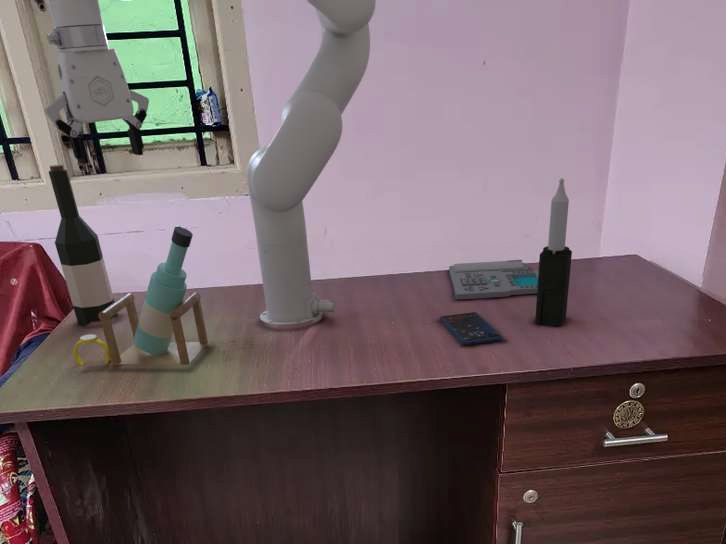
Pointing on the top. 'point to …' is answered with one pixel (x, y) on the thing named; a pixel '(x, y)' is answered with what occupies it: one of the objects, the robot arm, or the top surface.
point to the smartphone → (470, 328)
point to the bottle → (163, 297)
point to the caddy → (177, 350)
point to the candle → (554, 266)
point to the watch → (90, 339)
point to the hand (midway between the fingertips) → (111, 158)
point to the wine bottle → (79, 254)
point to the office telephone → (493, 279)
